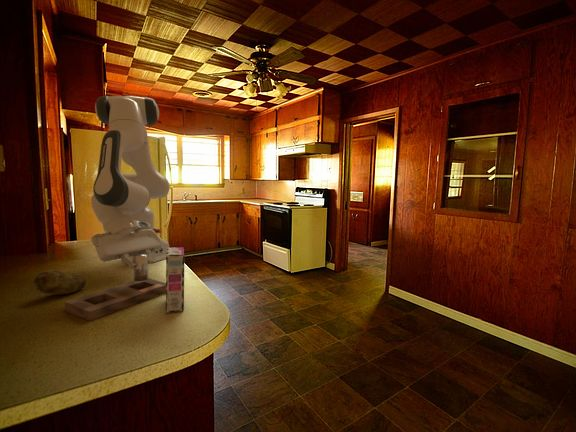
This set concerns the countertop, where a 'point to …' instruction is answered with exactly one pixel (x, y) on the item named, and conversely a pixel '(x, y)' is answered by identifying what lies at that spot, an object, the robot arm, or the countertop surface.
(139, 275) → the metal peg
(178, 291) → the candy bar box
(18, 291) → the countertop surface
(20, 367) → the countertop surface
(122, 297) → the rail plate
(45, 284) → the potato
